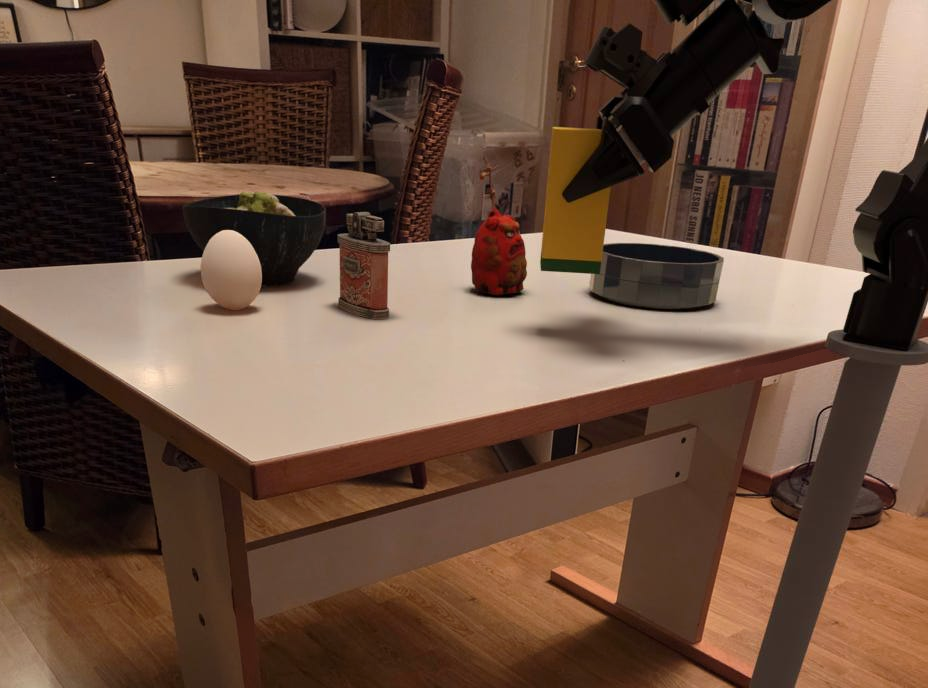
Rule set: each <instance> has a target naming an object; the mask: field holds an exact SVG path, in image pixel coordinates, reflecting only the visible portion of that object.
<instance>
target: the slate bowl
mask: <svg viewBox="0 0 928 688" xmlns="http://www.w3.org/2000/svg"><path fill="white" fill-rule="evenodd" d="M724 261H725V257H723V256H722V255H719V254H717V253H713V252H710V251H706V250H701V249H696V248H690V247H685V246H684V247H683V246H677V245H668V244H660V243H659V244H657V243H643V242H642V243H641V242H612V243H604V245H603V253H602V261H601V269H600V274H590V278H589V286H588V288H589V290H590V291H591V292H592V293H594V294H596V295H597V296H599V297H600V298H602V299H603V300H606V301H609V302H612V303H615V304H620V305H623V306H629V307H634V308H641V309H642V308H643V309H650V310H651V309H652V310H663V311H666V310H667V311H668V310H669V311H687V310H695V309H699V308H703V307H704V306H708V305H711V304H713V303H716V299H717V295H718V290H719V285H720V281H721V276H722V271H723V266H724Z"/></svg>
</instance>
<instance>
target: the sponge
mask: <svg viewBox="0 0 928 688" xmlns="http://www.w3.org/2000/svg"><path fill="white" fill-rule="evenodd" d="M601 130H602V129H596V128H584V127H583V128H582V127H565V126H564V127H562V126H552V127H551V137H550V138H551V139H550V147H549V148H550V149H549V161H548V171H547V182H546V192H545V204H544V215H543V216H544V217H543V228H542V238H541V249H540V259H539V265H540V271H541V272H550V273H569V274H570V273H571V274H586V275H588V274H589V275H591V274H600V269H601V261H602V253H603V245H604V244H605V237H606V229H607V220H608V212H609V205H610V196H611V189H612V186H611V187H608V188H606V189H603V190H600V191H598V192H595V193H593V194H590V195H588V196H585V197H583V198H580V199H578V200H575V201H572V202H570V203H568V202H566V200H565V199H564V197H563V196H562V192H563V191H564V190H565V188H566V187H567V186H568V184H569V183H570V182H571V180H572V179H573V178H574V176H575V175H576V174H577V172H578V171H579V170H580V169H581V167H582V166H583V165H584V163H585V162H586V161H587V159H588V158H589V157H590V156H591V154H592V153H593V152H594V150H595V149H596V148H597V147H598V145H599V143H600V138H601Z"/></svg>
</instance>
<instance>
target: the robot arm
mask: <svg viewBox="0 0 928 688" xmlns="http://www.w3.org/2000/svg"><path fill="white" fill-rule="evenodd" d="M718 1H719V5H717V7H716V8H715V9H714V10H713V11H712V12H710V14H708V15H707V16H706V17H705V18H704V19H703V20H702V21H701V22H700V23H699V24H698V25H697V26H696V27H695V28H694V29H692V31H691V32H690V33H689V34H688V35H686V36H685V38H684V39H682V40H681V41H680V42H679V43H678V44H676V46H675V47H674V48H673V49H672V50H671V51H669V50H668V51H666V52H662V53H660V54H659V55H658V57H656V58H654V57H652V56H651V55H650V54H648V52H647V51H646V50H645V49H644V50H643V49H642V42H643V41H642V40H643V31H642V30H641V29H640V28H638V27H636V26H635V25H633V23H630V22H627V24H625V25H624V26H623V27H622V28H621V29H619V30H618V31H615V30H614V29H613V28H612V27H608V26H607V25H603V26H602V27H601V29H600V31H599V33H598V34H597V37H595V40H594V42H593V44H592V46H591V48H590V50H589V51H588V54H587V56H586V58H585V60H584V62H583V64H584V65H585V66H586V67H587V68H589V69H590V70H592V71H593V72H595V73H596V72H599V73H601V74H602V75H604V76H605V77H607V78H608V79H609V80H611V81H613V82H614V83H616V84H617V85H619V86H620V87H622V88H624V89H623V90H622V91H620V93H619V94H620V96H611V98H609V99H608V100H607V102H606V103H604V104H603V105H602V106H601V107H600V108H599V109H598V113H599V114H600V115H599V114H597V116H596V118H595V129H602V130H601V138H600V143H599V145H598V147H597V148H596V149H595V150H594V152H593V153H592V154H591V156H590V157H589V158H588V159H587V161H586V162H585V163H584V165H583V166H582V167H581V169H580V170H579V171H578V172H577V174H576V175H575V176H574V178H573V179H572V180H571V182H570V183H569V184H568V186H567V187H566V188H565V190H564V191H563V192H562V196H563V197H564V199H565V200H566V202H568V203H570V202H572V201H575V200H578V199H580V198H583V197H585V196H588V195H590V194H593V193H595V192H598V191H600V190H603V189H606V188H608V187H611V188H612V187H613V186H616V185H618V184H621V183H624V182H627V181H629V180H632V179H635V178H638V177H641V176H643V175H645V174H646V171H645V170H644V168H643V167H642V166H641V165H642V164H643V163H644V162H646V167H647V168H648V170H649V171H650V172H651V173H653V174H655V173H657V171H658V170H659V169H661V167H663V166H664V165H665V164H666V163H667V162H668V161H669V160H670V159H672V155H673V150H674V144H675V140H674V138H673V136H675V135H676V134H677V133H678V132H679V131H680V130H681V129H683V127H685V126H686V125H687V124H688V123H689V122H691V120H693V119H694V117H696V116H701V115H702V114H703V113H705V112H706V111H707V110H708V109H709V108H710V105H709V104H710V103H711V102H713V100H714V99H716V97H718V96H719V95H720V94H721V93H722V92H723V91H724V90H726V89H727V87H728V86H730V84H732V83H733V82H734V81H735V80H736V79H737V78H738V77H739V76H741V75H742V74H743V73H744V72H745V71H747V69H748V68H749V67H751V65H752V64H754V63H756V66H757V67H758V68H759V70H760V72H761V73H762V75H763V74H764V75H772V74H776V73H777V72H778V71H779V68H780V59H781V52H782V49H783V47H784V44H785V42H786V41H785V38H784V37H778V38H776V37H775V38H774V37H771V36H770V34H769V32H768V31H767V29H766V28H765V26H764V24H763V22H762V21H764V22H766V23H768V24H770V25H772V26H780V25H784V24H789V23H791V22H794V21H797V20H801V19H804V18H808V17H809V16H811V15H813V14H814V13H815V12H817V11H818V10H820V9H821V8H822V7H824V6H825V5H827V4H829V3H830V2H832V0H739V1H740V2H744V3H746V4H750V5H752V6H753V9H752V10H751V11H749V12H747V13H745V12H744V11H743V10H742V8H741V6H739V4H738V3H737V1H736V0H718ZM652 2H653V3H654V5H655V6H656V8H657V9H658V11H659V13H660V14H661V16H662V17H663V18H664V20H665V22H666V23H667V25H668V26H669V25H671V24H672V23H674V22H675V21H676V22H677V23H679V22H680V21H681V24H682V25H683V26H684V28H686V27H687V26H689V25H690V24H691V23H692V22H694V21H695V20H696V19H697V18H698V17H699V16H701V14H702V13H703V12H704V11H706V9H708V8H709V6H710V5H712V3H714V2H715V0H652ZM761 20H762V21H761ZM854 211H855V212H857V213H859V214H858V216H857V218H856V220H855V222H854V223H853V227H852V234H853V244H854V246H855V248H856V249H857V252H858V253H860V254H861V264H862V265H861V266H862V272H863V273H865V274H867V275H866V276H864V277H863V280H862V283H861V288H859V289H857V290H856V291H854V292H853V293H852V298H851V301H850V304H849V308H848V312H847V315H846V318H845V321H844V325H843V328H842V330H843V331H844V333H847V334H845V335H844V336H843V339H842V340H843V341H847V342H853V343H858V344H864V345H870V346H875V347H881V348H887V349H892V350H898V351H905V352H907V351H909V350H910V349H911V348H912V347H913V346H914V345H915V344H916V343H917V341H918V340H919V337H917V336H918V333H919V330H920V327H921V324H922V321H923V318H924V314H925V311H926V309H927V306H928V137H927V138H926V140H925V142H924V143H923V144H922V146H921V148H920V149H919V150H918V152H917V154H916V155H915V156H914V158H913V159H912V160H911V161H910V162H908V164H906V166H904V167H903V168H902V169H901V170H900V171H899V172H897V171H891V170H886V169H883V170H881V171H880V172H879V174H878V176H877V177H876V179H875V181H874V184H873V186H872V188H871V190H870V192H869V194H868V195H867V197H866V198H865V199H864V200H863V202H861V203H860V204H859V205H858V206H857V207H855V210H854Z"/></svg>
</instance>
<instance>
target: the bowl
mask: <svg viewBox="0 0 928 688" xmlns="http://www.w3.org/2000/svg"><path fill="white" fill-rule="evenodd" d="M181 209H182V214H183V219H184V220H183V221H184V224H185V226H186V227H187V231H188V232H189V234H190V236H191V238H192V240H193V241H194V242H195V244H196V245H197V246H198V248H199V249H200V250H201V251H202V252H203V253H204V250H205V247H206V246H207V244H208V242H209V240H210V239H211V238H212V237H213V236H214V235H215V234H217V233H219V232H220V231H223V230H233V231H236V232H238V233H239V234H241V235H242V236H244V237H245V238H246V239H247V240H248V241H249V242H250V244H251V245H252V247H253V248H254V250H255V252H256V254H257V256H258V258H259V261H260V265H261V271H262V284H261V287H277V286H285V285H289V284H292V283H293V282H294V281H295V278H296V277H297V274H298V272H299V269H300V268H301V267H302V266H303V265H304V264H305V263H306V262H307V261H308V260H309V259H310V258H311V256H312V255H313V253H314V252H315V251H316V249H317V248H318V246H319V245H320V244H321V240H322V237H323V235H324V233H325V229H326V225H327V224H326V223H327V208H326V206H324V205H323V204H321V203H319V202H317V201H314V200H311V199H307V198H303V197H294V196H290V195H281V194H272V193H269V192H260V191H259V192H257V191H256V192H253V193H247V192H245V191H242V192H240V193H239V194H229V195H222V196H221V195H220V196H215V197H210V198H209V197H208V198H204V199H199V200H196V201H192V202H188V203H186V204H184V205H182V207H181Z"/></svg>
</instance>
